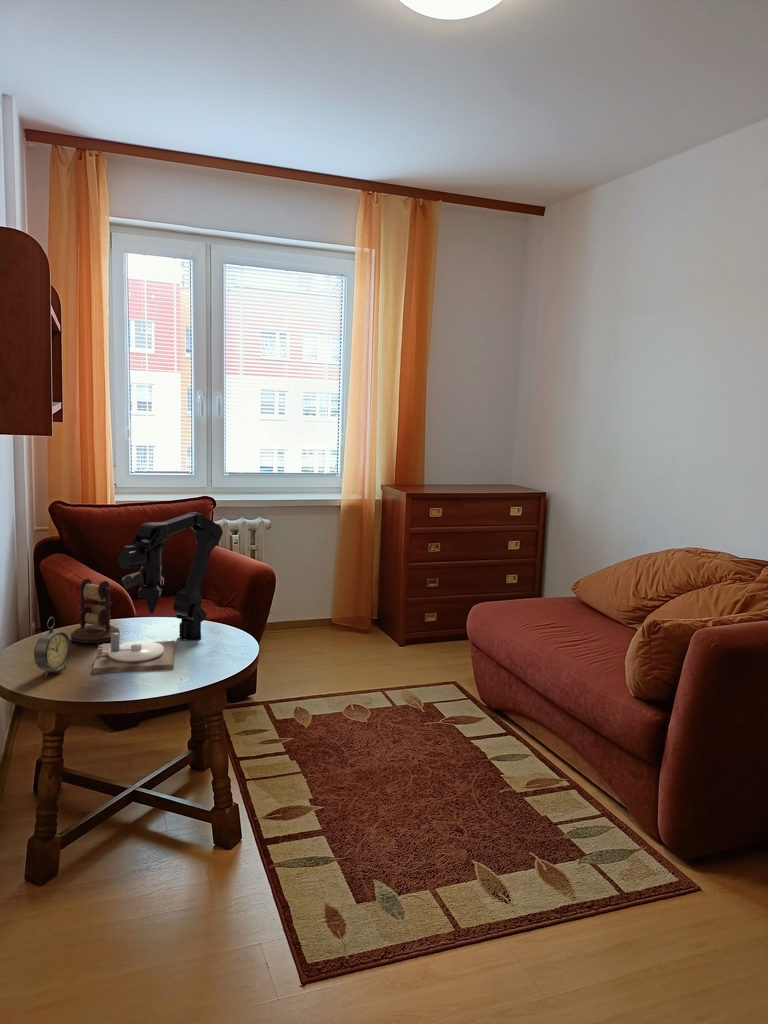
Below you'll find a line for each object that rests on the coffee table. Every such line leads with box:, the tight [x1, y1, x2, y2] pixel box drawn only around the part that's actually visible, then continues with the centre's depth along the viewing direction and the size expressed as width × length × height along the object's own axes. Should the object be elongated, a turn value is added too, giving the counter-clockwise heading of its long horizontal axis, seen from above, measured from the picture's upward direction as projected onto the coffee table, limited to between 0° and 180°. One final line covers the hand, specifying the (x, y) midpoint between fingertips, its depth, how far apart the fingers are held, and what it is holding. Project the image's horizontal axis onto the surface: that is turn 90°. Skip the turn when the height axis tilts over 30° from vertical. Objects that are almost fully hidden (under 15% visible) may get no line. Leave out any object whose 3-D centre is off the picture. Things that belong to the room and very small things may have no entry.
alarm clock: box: [33, 616, 72, 679], centre depth 202 cm, size 11×5×16 cm, turn 168°
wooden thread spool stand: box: [70, 578, 121, 647], centre depth 232 cm, size 15×15×20 cm
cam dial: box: [103, 633, 164, 662], centre depth 217 cm, size 18×16×6 cm
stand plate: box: [92, 640, 176, 674], centre depth 217 cm, size 22×22×4 cm
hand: (151, 613), depth 224 cm, fingers closed
